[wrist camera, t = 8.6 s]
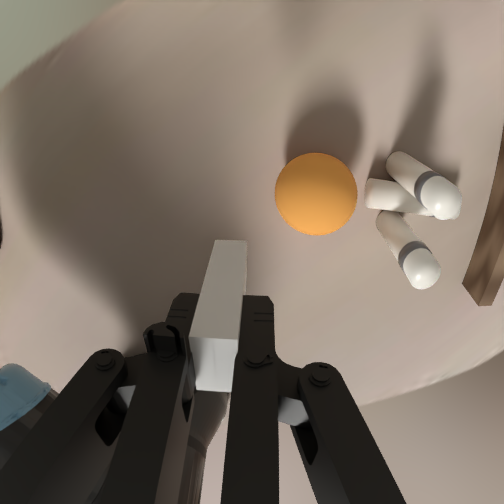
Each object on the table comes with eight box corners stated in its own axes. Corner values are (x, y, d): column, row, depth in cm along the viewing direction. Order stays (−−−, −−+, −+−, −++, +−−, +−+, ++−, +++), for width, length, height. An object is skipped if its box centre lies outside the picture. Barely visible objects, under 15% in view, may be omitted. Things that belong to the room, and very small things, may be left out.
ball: (252, 214, 25) (308, 198, 28) (303, 263, 22) (357, 238, 25) (265, 143, 21) (325, 136, 24) (328, 186, 18) (384, 173, 21)
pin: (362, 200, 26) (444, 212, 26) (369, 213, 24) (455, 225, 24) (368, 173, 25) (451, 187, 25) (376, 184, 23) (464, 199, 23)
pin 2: (402, 230, 27) (441, 284, 20) (377, 237, 28) (410, 293, 20) (399, 205, 26) (441, 254, 19) (373, 212, 27) (408, 264, 19)
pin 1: (413, 175, 25) (463, 215, 17) (388, 182, 25) (431, 225, 18) (409, 147, 24) (461, 178, 16) (382, 154, 24) (427, 187, 17)
